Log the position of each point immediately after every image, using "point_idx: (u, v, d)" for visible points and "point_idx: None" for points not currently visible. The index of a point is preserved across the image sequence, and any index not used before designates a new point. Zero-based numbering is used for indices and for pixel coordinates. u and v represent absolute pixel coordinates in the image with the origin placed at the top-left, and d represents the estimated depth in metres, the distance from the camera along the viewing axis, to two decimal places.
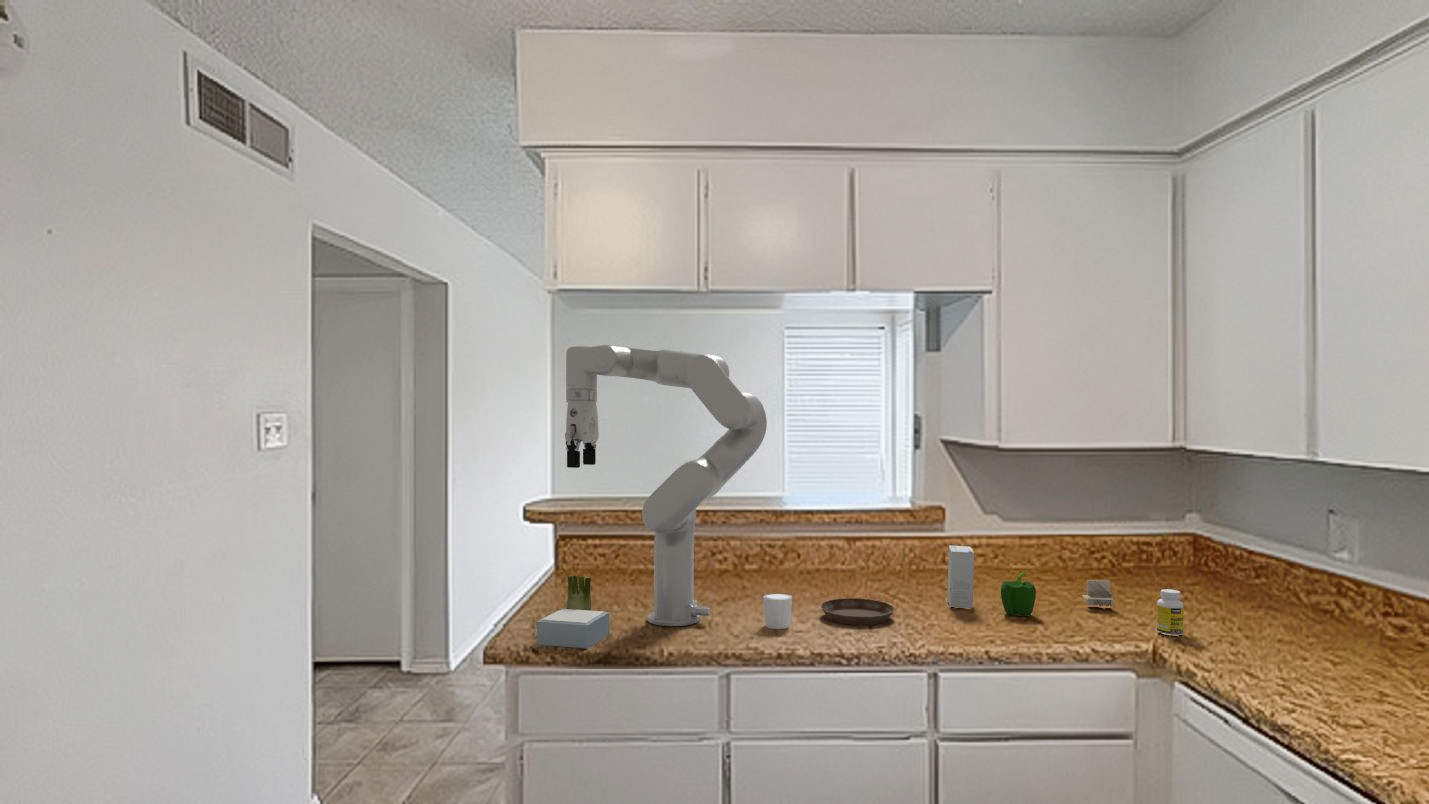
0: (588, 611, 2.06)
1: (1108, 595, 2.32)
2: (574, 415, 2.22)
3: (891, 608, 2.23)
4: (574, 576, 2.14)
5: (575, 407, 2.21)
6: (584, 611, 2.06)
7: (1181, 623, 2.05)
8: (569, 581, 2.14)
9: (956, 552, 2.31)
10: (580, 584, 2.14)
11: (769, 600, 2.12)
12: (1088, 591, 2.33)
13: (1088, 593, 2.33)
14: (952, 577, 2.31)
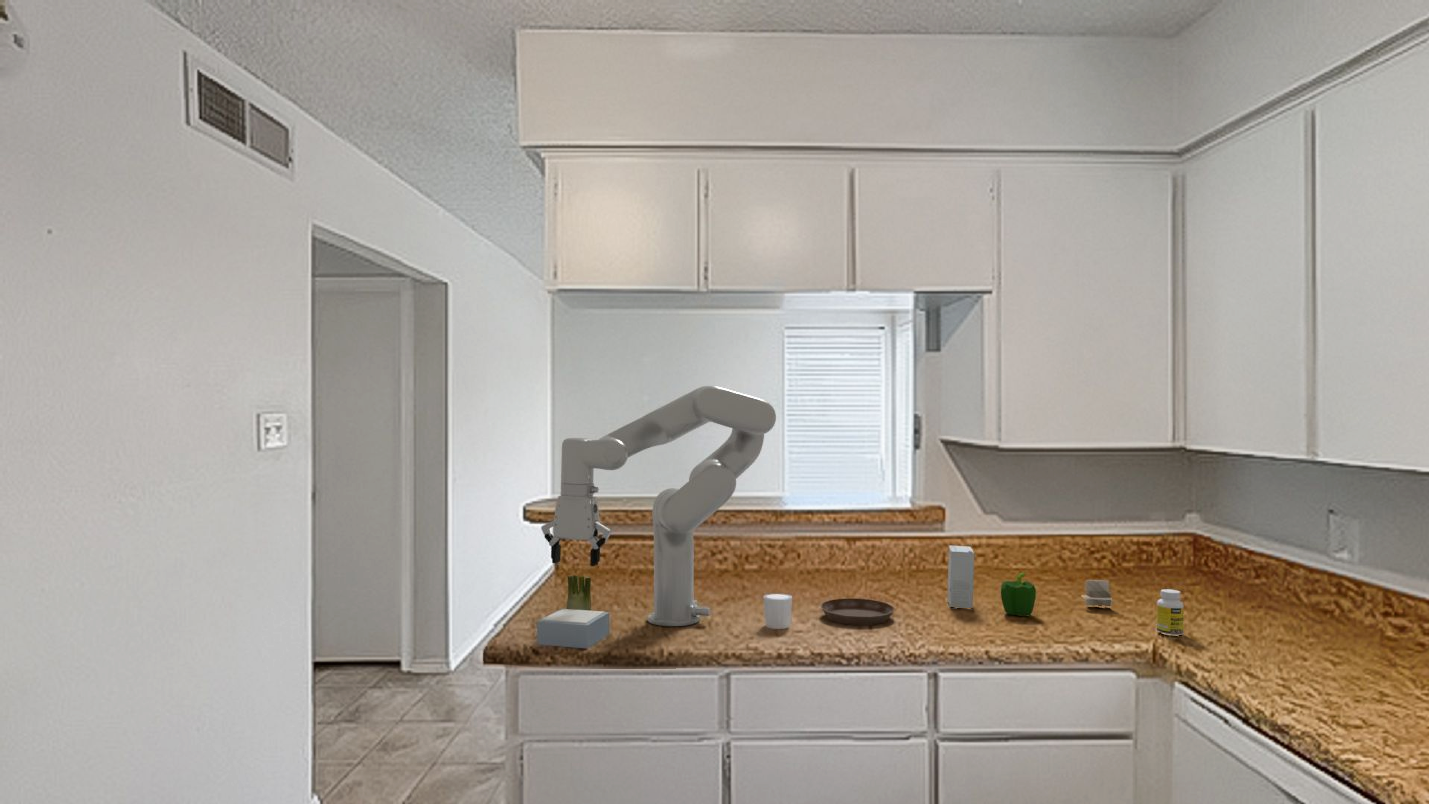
0: (588, 611, 2.06)
1: (1107, 595, 2.32)
2: None
3: (891, 608, 2.23)
4: (574, 576, 2.14)
5: (595, 502, 2.13)
6: (584, 611, 2.06)
7: (1181, 623, 2.05)
8: (569, 581, 2.14)
9: (956, 552, 2.31)
10: (580, 584, 2.14)
11: (769, 600, 2.12)
12: (1087, 591, 2.33)
13: (1087, 593, 2.33)
14: (952, 577, 2.31)
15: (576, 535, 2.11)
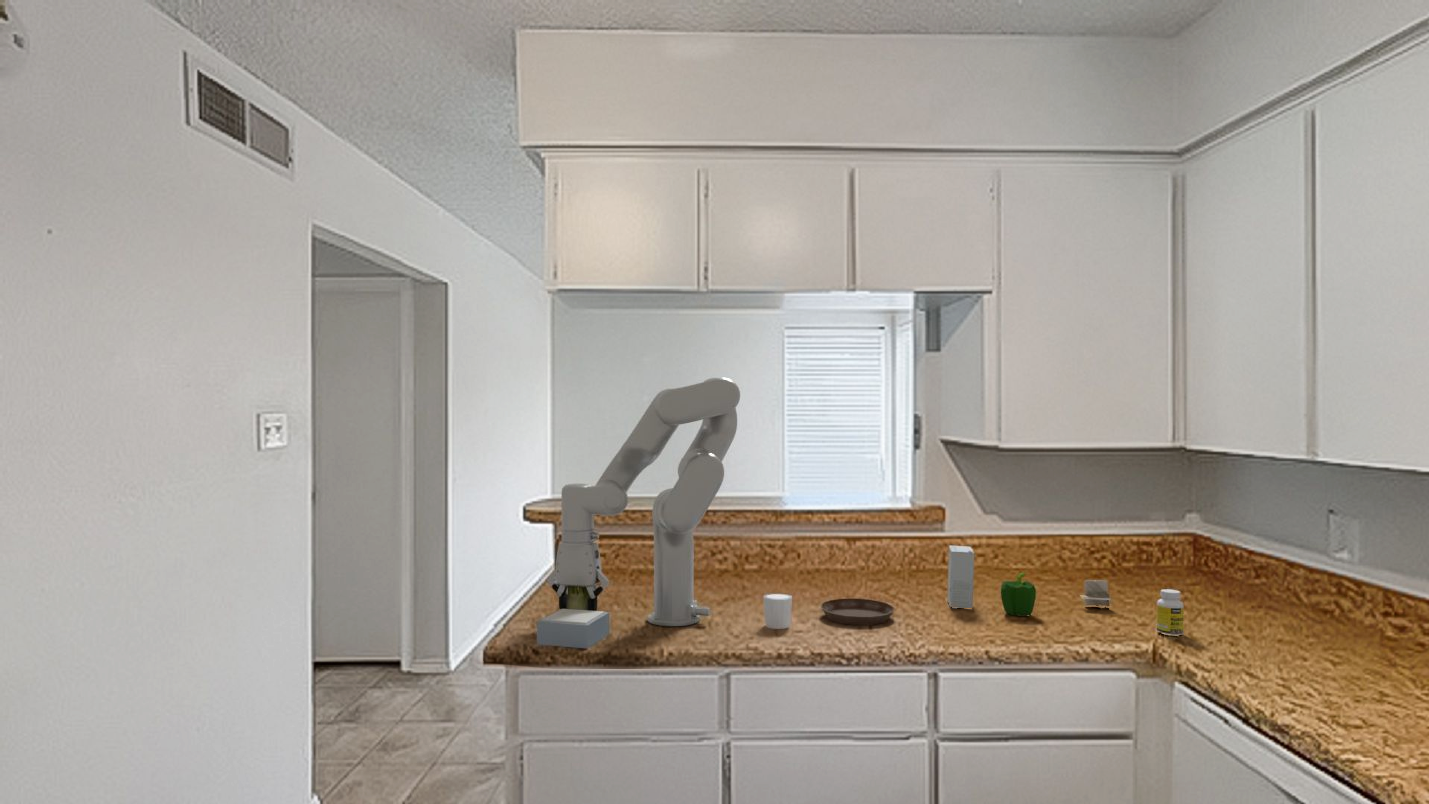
0: (588, 611, 2.06)
1: (1106, 595, 2.32)
2: None
3: (891, 608, 2.23)
4: None
5: (597, 548, 2.13)
6: (584, 611, 2.06)
7: (1181, 623, 2.05)
8: None
9: (956, 552, 2.31)
10: None
11: (769, 600, 2.12)
12: (1086, 591, 2.33)
13: (1086, 593, 2.33)
14: (952, 577, 2.31)
15: (578, 581, 2.12)
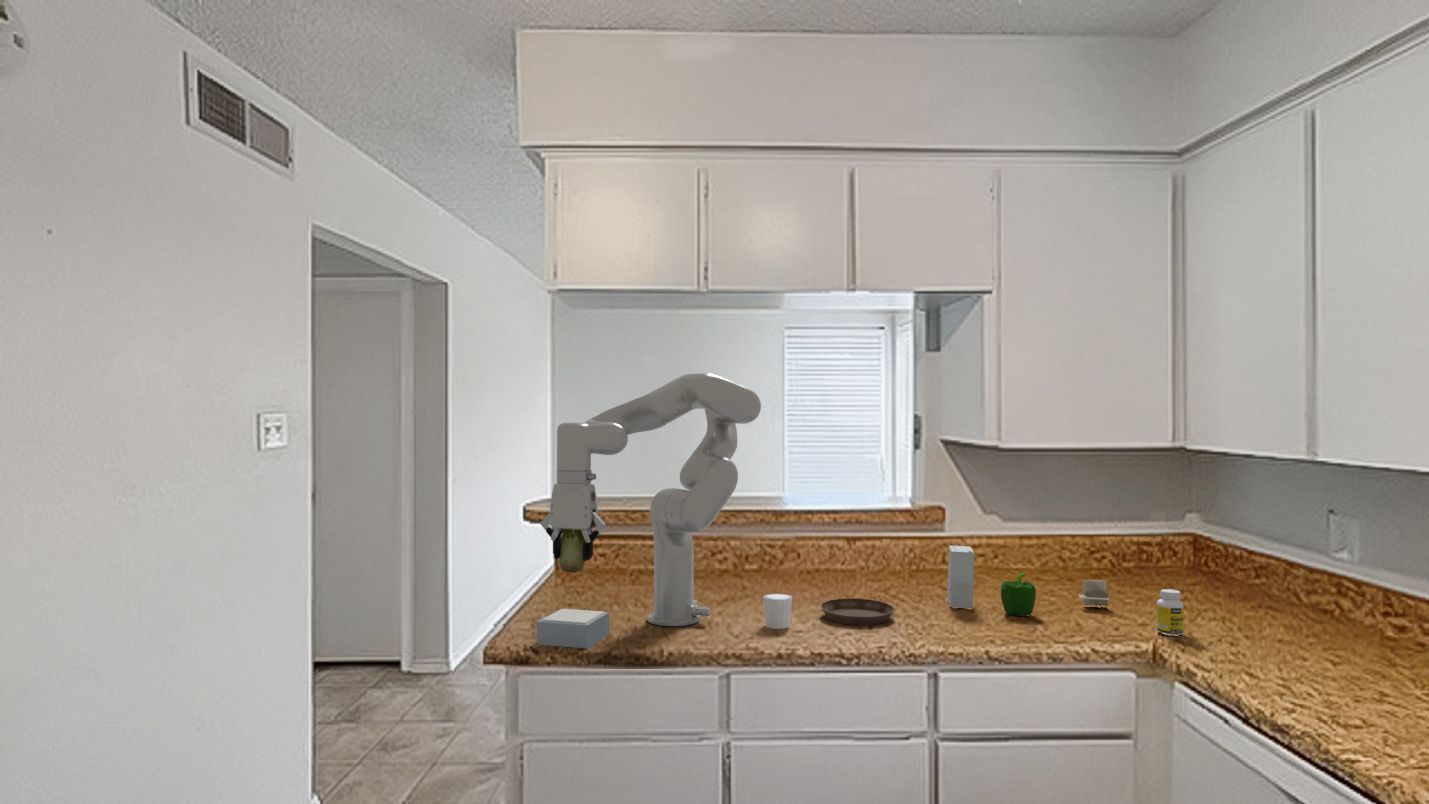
0: (588, 611, 2.06)
1: (1104, 595, 2.32)
2: None
3: (891, 608, 2.23)
4: None
5: (593, 490, 2.02)
6: (584, 611, 2.06)
7: (1181, 623, 2.05)
8: None
9: (956, 552, 2.31)
10: None
11: (769, 600, 2.12)
12: (1084, 591, 2.33)
13: (1084, 593, 2.33)
14: (952, 577, 2.31)
15: (573, 525, 2.01)
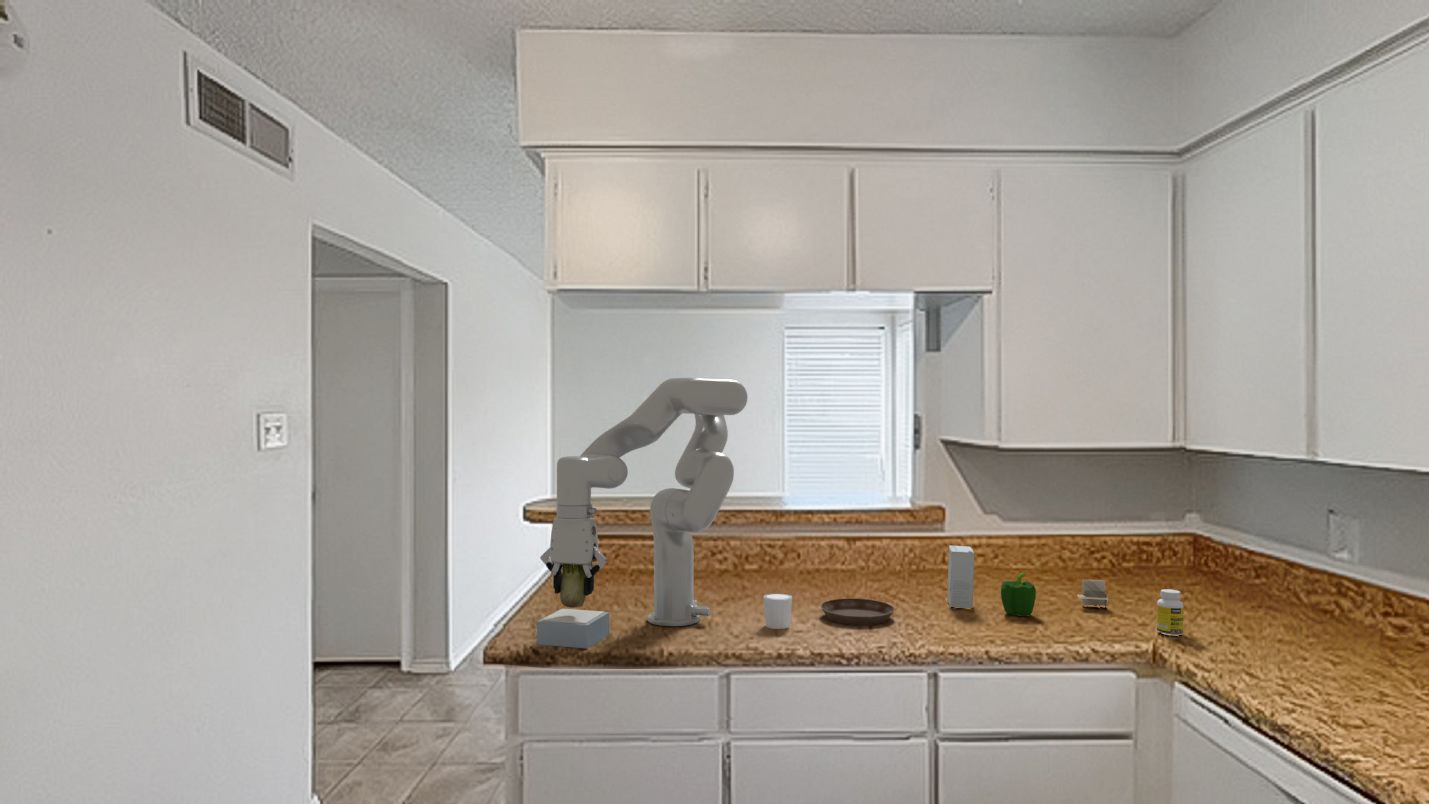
0: (588, 611, 2.06)
1: (1103, 595, 2.32)
2: None
3: (891, 608, 2.23)
4: None
5: (594, 524, 2.01)
6: (584, 611, 2.06)
7: (1181, 623, 2.05)
8: None
9: (956, 552, 2.31)
10: None
11: (769, 600, 2.12)
12: (1083, 591, 2.33)
13: (1083, 593, 2.33)
14: (952, 577, 2.31)
15: (574, 559, 2.00)
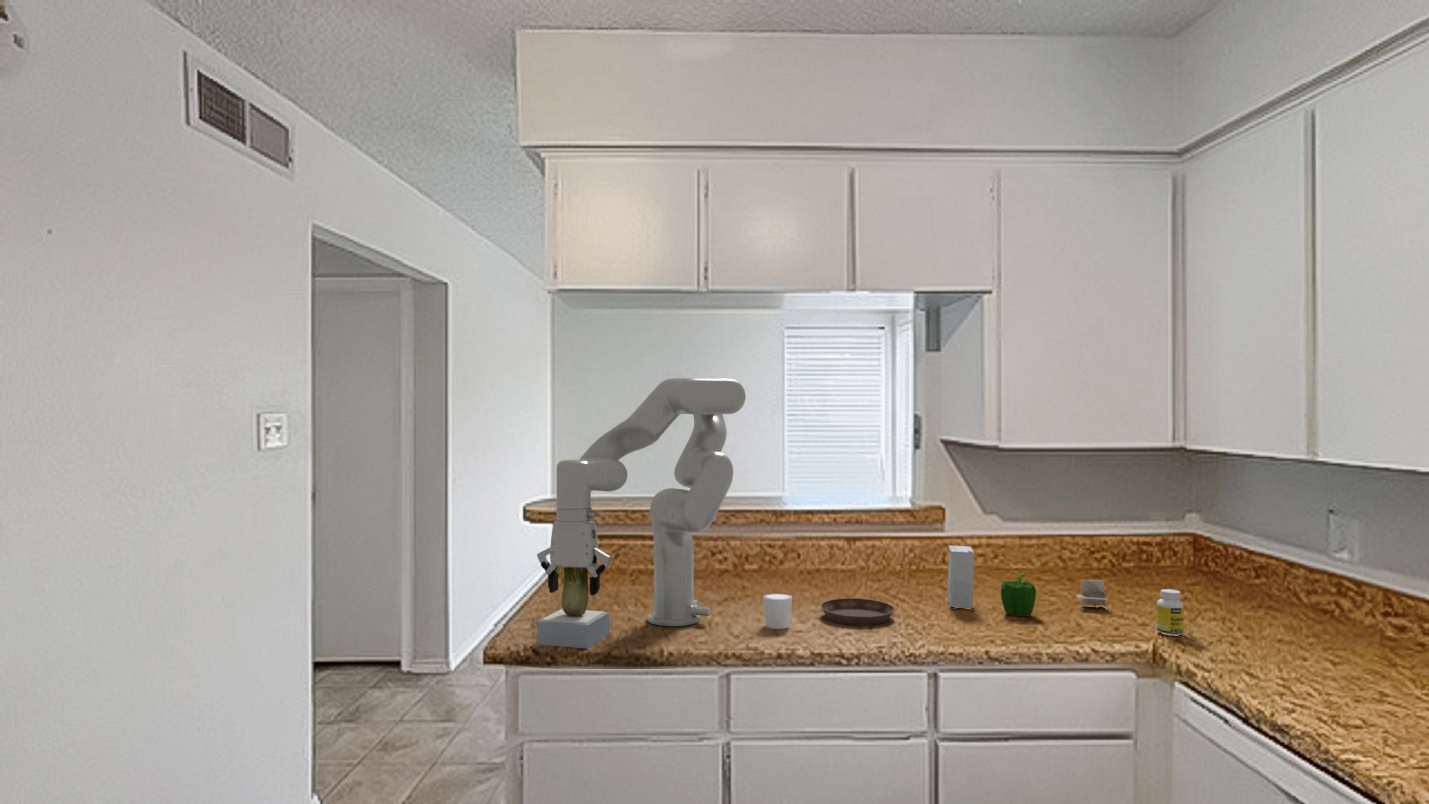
0: (588, 611, 2.06)
1: (1102, 595, 2.32)
2: None
3: (891, 608, 2.23)
4: None
5: (594, 528, 2.01)
6: None
7: (1181, 623, 2.05)
8: (565, 568, 2.03)
9: (956, 552, 2.31)
10: (577, 571, 2.02)
11: (769, 600, 2.12)
12: (1082, 591, 2.33)
13: (1082, 593, 2.33)
14: (952, 577, 2.31)
15: (574, 563, 2.00)
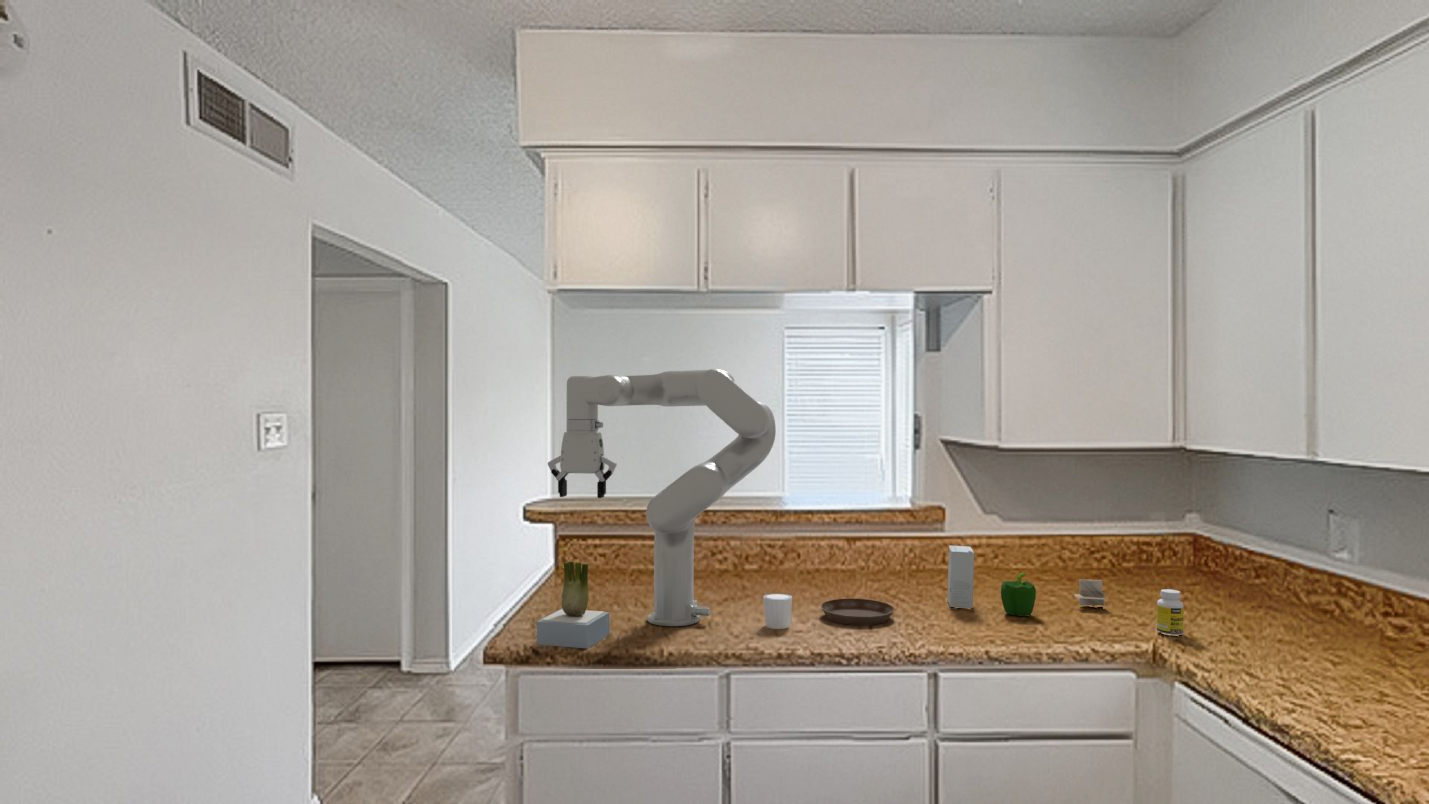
0: (588, 611, 2.06)
1: (1100, 595, 2.32)
2: None
3: (891, 608, 2.23)
4: (570, 562, 2.02)
5: (600, 437, 2.22)
6: None
7: (1181, 623, 2.05)
8: (565, 568, 2.03)
9: (956, 552, 2.31)
10: (577, 571, 2.02)
11: (769, 600, 2.12)
12: (1080, 590, 2.33)
13: (1080, 592, 2.33)
14: (952, 577, 2.31)
15: (583, 469, 2.20)
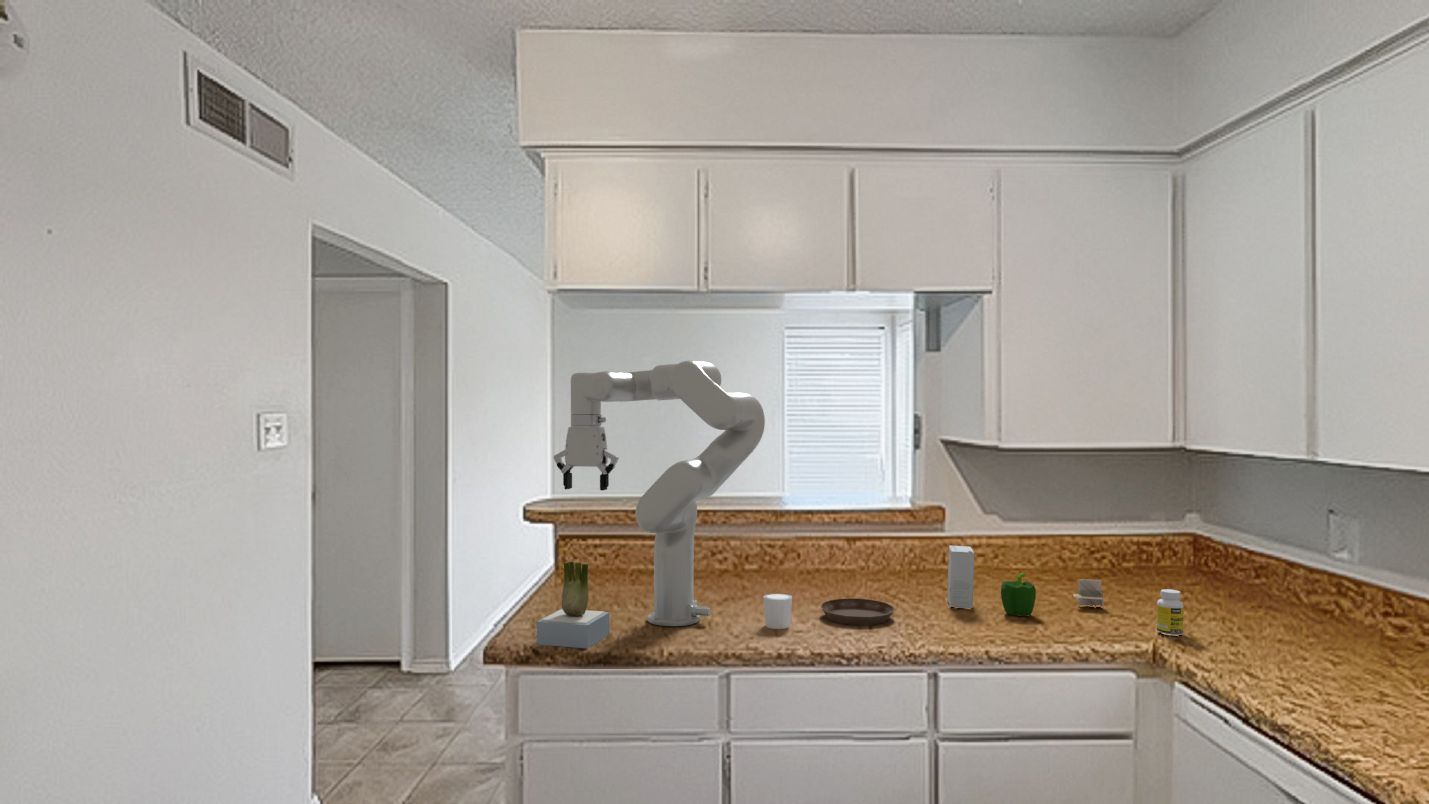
0: (588, 611, 2.06)
1: (1099, 594, 2.33)
2: None
3: (891, 608, 2.23)
4: (570, 562, 2.02)
5: (603, 432, 2.30)
6: None
7: (1181, 623, 2.05)
8: (565, 568, 2.03)
9: (956, 552, 2.31)
10: (577, 571, 2.02)
11: (769, 600, 2.12)
12: (1079, 590, 2.34)
13: (1079, 592, 2.34)
14: (952, 577, 2.31)
15: (586, 462, 2.28)
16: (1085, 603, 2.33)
